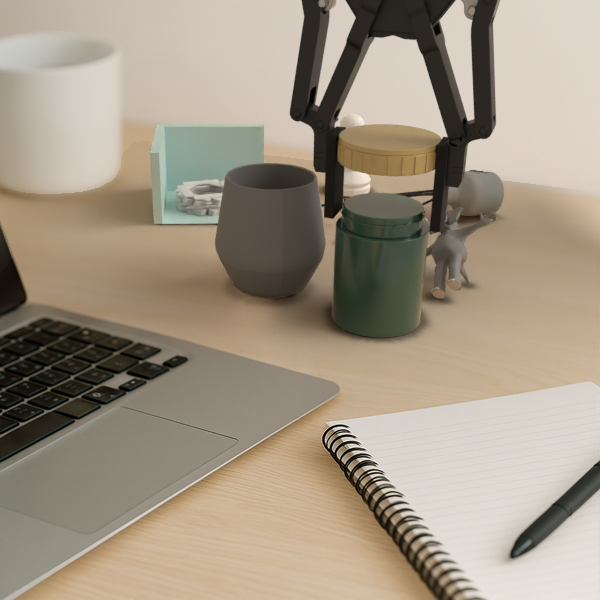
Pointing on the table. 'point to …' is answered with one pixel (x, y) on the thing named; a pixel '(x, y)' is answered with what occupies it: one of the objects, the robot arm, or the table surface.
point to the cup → (270, 228)
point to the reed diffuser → (471, 193)
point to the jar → (379, 265)
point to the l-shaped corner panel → (198, 167)
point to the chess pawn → (352, 179)
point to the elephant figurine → (452, 251)
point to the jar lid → (388, 149)
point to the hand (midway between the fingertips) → (384, 218)
